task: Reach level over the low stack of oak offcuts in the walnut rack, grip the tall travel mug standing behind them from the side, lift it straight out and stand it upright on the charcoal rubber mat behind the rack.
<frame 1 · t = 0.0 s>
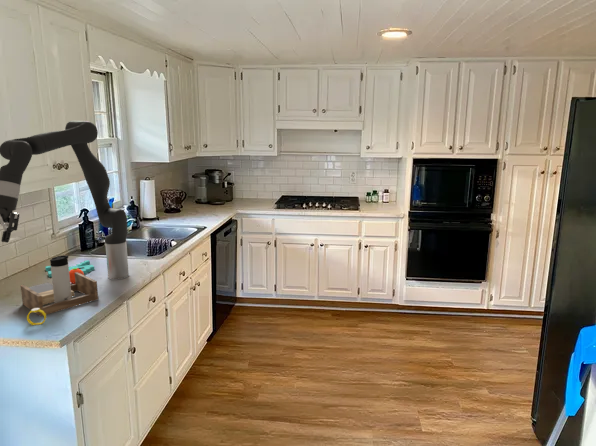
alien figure: (71, 273, 217), on the worktop
travel mug: (64, 303, 178), resting in walnut rack
walnut rack: (64, 303, 178), on the worktop
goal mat: (40, 289, 193), on the worktop
watch: (37, 324, 160), on the worktop
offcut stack: (56, 299, 183), resting in walnut rack
clementine: (76, 283, 202), on the worktop
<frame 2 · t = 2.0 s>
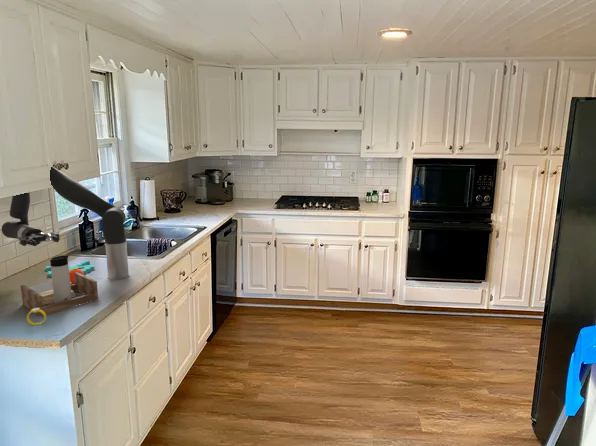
hand: (46, 241, 180), 24 cm above the worktop, tool horizontal, fingers open, 8 cm apart
nothing on the worktop moved.
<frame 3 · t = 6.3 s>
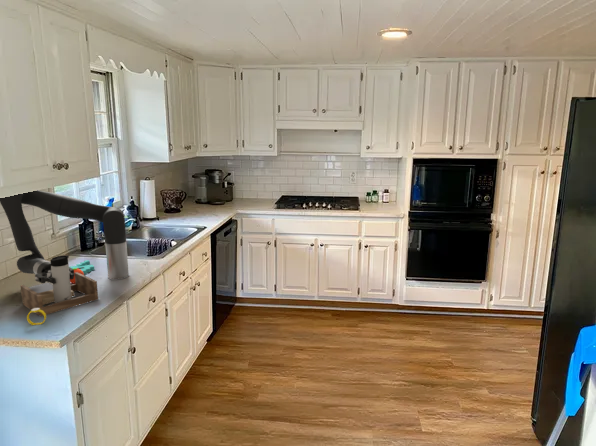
hand: (63, 279, 174), 11 cm above the worktop, tool horizontal, fingers closed on travel mug, 6 cm apart
travel mug: (64, 303, 178), resting in walnut rack, touching gripper
everything else where it was.
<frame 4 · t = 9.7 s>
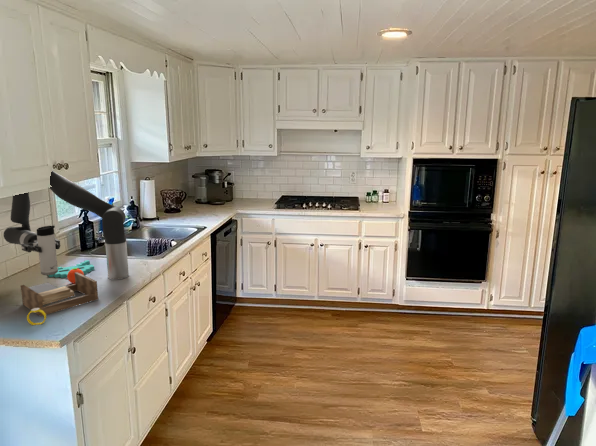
hand: (49, 248, 179), 22 cm above the worktop, tool horizontal, fingers closed on travel mug, 6 cm apart
travel mug: (50, 273, 183), point 10 cm above the worktop, touching gripper
everything else where it was.
when the fingers open (13 cm above the worktop, at t = 13.0 s): travel mug drops 1 cm, resting on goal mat.
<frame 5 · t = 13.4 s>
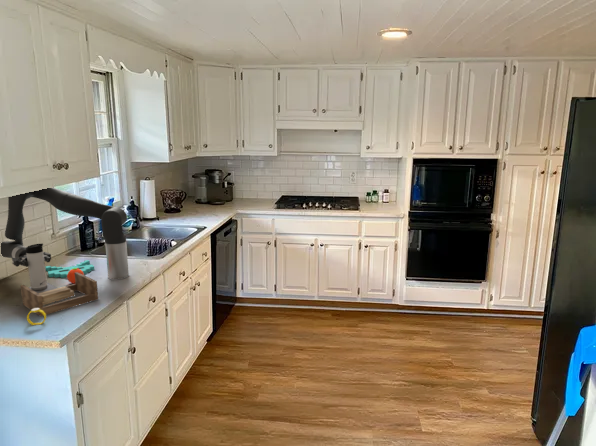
hand: (38, 262, 189), 13 cm above the worktop, tool horizontal, fingers open, 8 cm apart
travel mug: (40, 288, 193), resting on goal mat
everything else where it was.
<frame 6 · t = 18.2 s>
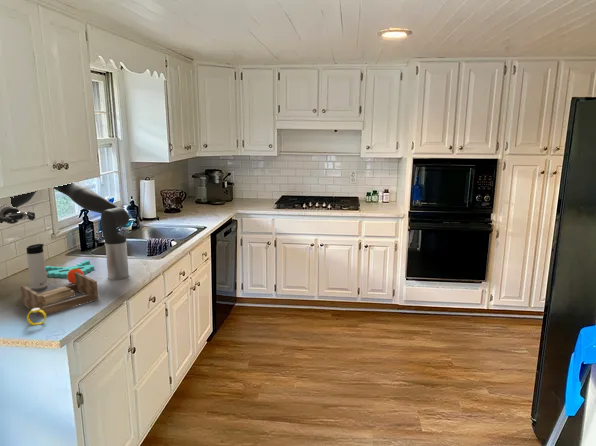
hand: (22, 219, 193), 30 cm above the worktop, tool horizontal, fingers open, 8 cm apart
nothing on the worktop moved.
at the end: travel mug 0.2 cm off-centre on the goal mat, point 0.2 cm above the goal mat's base; travel mug tilted 0°; the gripper is holding nothing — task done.
